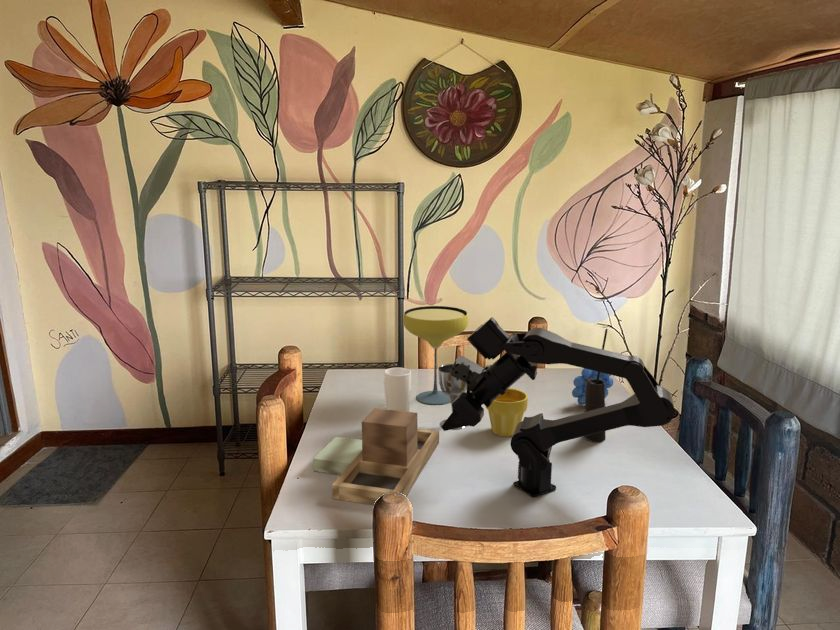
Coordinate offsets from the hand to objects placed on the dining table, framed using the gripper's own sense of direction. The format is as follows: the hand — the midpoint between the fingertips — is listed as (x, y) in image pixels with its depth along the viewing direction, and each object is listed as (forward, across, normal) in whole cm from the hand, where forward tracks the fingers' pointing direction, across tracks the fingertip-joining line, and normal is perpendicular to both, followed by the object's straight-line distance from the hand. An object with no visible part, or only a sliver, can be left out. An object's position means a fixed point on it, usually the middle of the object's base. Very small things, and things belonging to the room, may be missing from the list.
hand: (448, 420), depth 136 cm
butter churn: (-11, -30, +29) cm, 43 cm away
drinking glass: (+22, -21, -4) cm, 31 cm away
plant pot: (+4, -27, +14) cm, 31 cm away
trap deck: (+21, +1, -4) cm, 22 cm away
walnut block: (+16, +1, -2) cm, 16 cm away
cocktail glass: (+20, -44, -2) cm, 48 cm away
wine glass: (+13, -27, +5) cm, 31 cm away
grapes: (-10, -52, +28) cm, 60 cm away
